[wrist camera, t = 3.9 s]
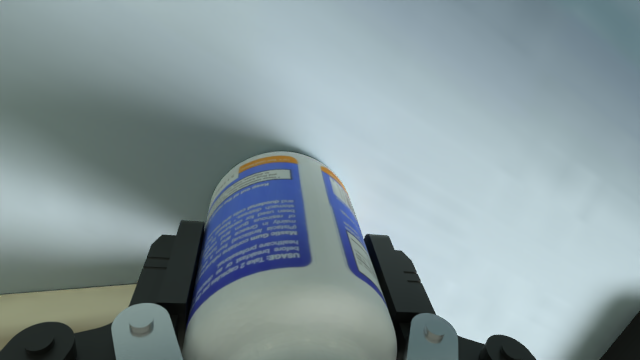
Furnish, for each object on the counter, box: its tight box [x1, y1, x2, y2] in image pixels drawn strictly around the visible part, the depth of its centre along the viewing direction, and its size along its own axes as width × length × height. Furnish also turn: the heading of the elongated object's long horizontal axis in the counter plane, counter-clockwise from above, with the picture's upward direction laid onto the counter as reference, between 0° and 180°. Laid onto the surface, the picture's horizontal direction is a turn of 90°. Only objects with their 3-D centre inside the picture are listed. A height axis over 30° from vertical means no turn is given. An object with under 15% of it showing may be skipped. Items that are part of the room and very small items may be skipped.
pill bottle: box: [182, 151, 397, 360], centre depth 12 cm, size 5×5×10 cm
